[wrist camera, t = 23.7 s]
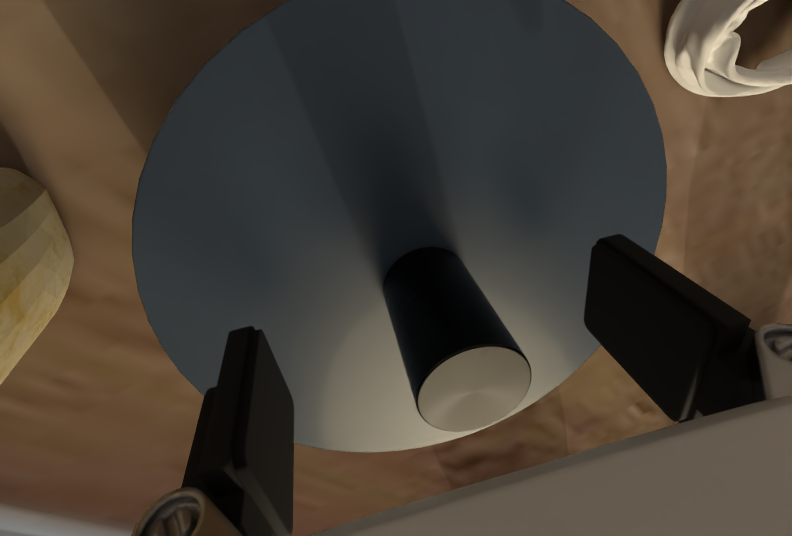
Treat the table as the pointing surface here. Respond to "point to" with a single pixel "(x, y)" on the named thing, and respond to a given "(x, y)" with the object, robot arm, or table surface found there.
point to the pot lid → (397, 208)
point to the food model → (28, 264)
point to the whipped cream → (718, 51)
